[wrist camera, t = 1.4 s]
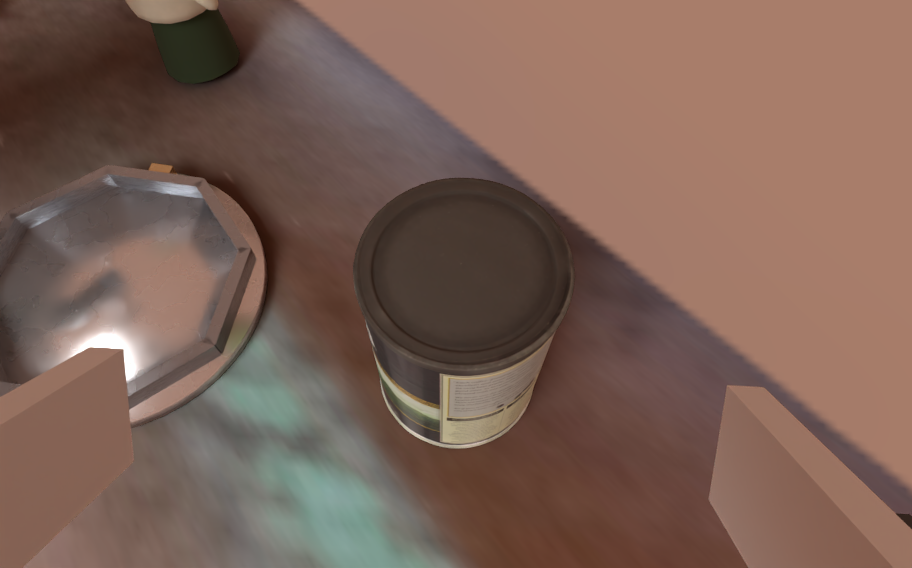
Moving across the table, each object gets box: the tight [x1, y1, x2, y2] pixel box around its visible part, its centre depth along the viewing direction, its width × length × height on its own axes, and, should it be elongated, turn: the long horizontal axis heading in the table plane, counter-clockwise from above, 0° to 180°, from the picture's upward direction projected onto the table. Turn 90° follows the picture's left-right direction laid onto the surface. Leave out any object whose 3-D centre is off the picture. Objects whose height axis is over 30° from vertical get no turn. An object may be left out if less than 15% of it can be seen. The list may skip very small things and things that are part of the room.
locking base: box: [0, 163, 268, 428], centre depth 43 cm, size 20×20×2 cm
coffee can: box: [353, 178, 575, 448], centre depth 36 cm, size 10×10×14 cm
